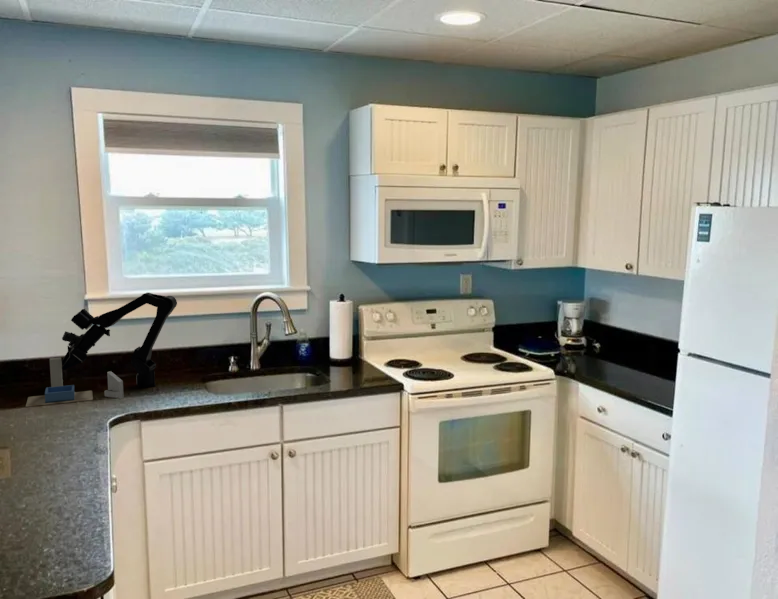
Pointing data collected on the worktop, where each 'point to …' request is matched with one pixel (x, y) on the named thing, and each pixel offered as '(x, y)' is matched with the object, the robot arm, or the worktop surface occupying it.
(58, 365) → the connector column
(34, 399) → the board
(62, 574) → the worktop surface
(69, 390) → the box
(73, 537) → the worktop surface
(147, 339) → the robot arm
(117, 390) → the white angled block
